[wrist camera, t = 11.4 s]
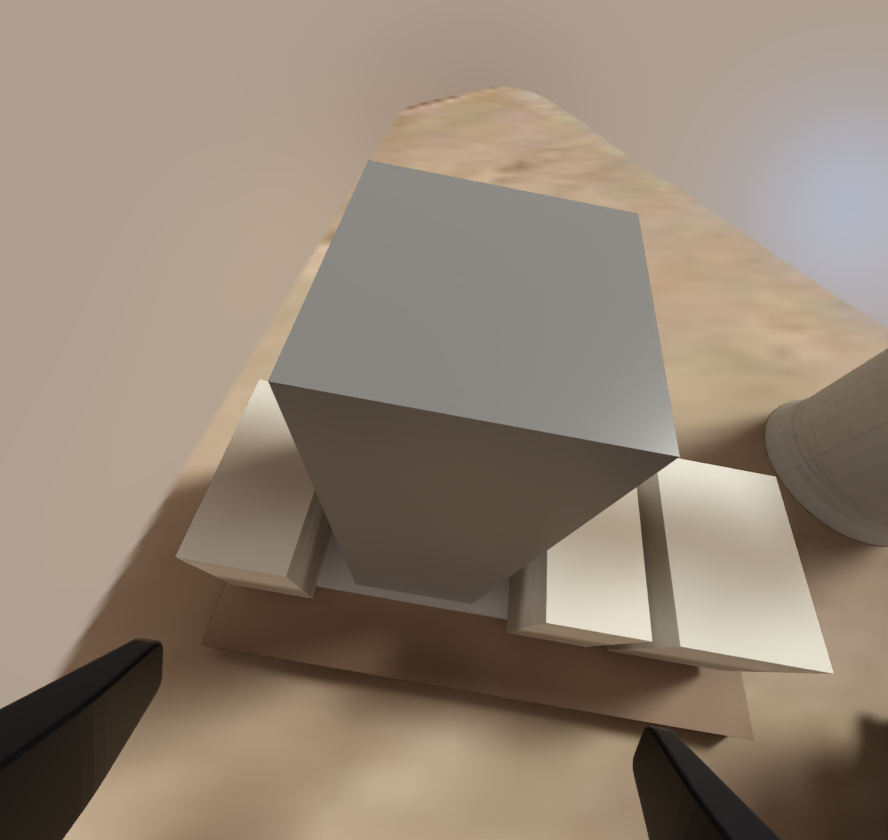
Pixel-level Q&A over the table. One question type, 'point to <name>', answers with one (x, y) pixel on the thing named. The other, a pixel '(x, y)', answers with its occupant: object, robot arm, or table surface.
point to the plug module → (472, 378)
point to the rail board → (476, 658)
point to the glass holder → (838, 452)
